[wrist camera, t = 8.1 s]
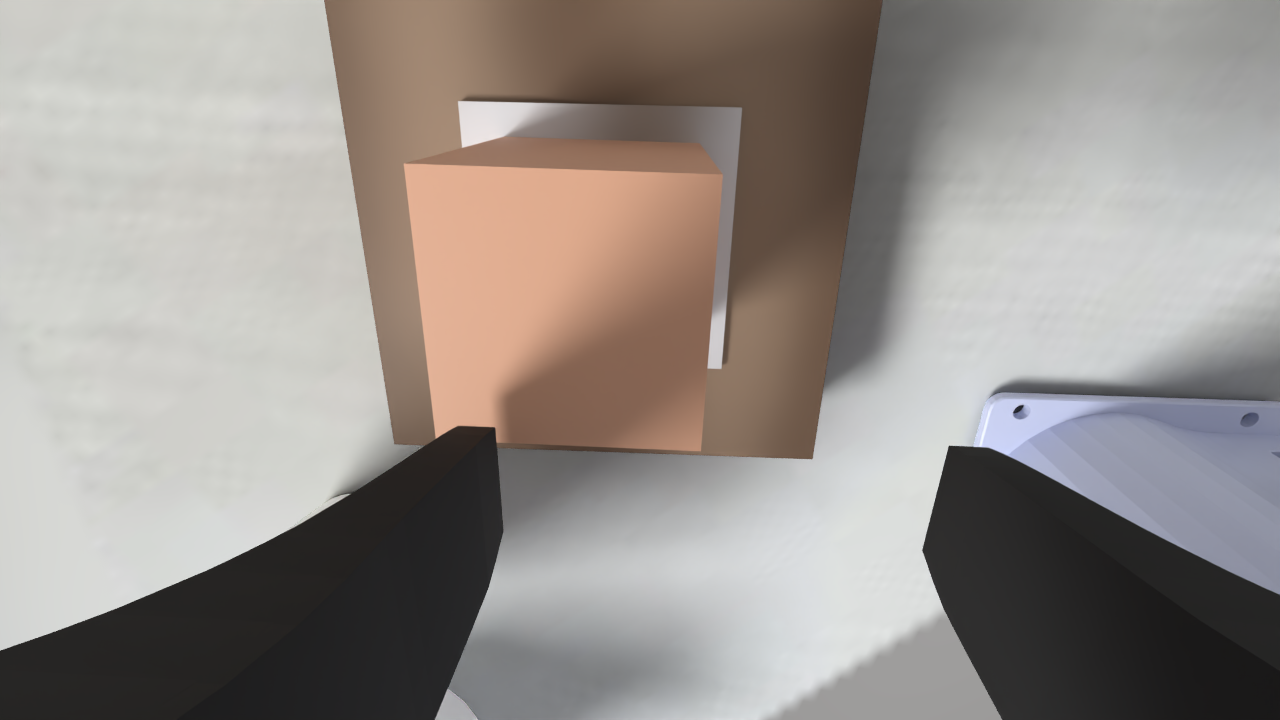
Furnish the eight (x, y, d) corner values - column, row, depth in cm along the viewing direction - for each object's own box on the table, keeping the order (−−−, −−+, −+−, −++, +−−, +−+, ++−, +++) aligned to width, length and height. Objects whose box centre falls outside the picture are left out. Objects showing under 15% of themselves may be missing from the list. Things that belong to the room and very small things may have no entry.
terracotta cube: (699, 142, 14) (723, 174, 9) (688, 327, 16) (701, 451, 10) (504, 136, 14) (403, 163, 9) (514, 320, 16) (436, 440, 11)
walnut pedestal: (848, -13, 16) (890, -38, 13) (792, 409, 20) (813, 463, 17) (376, -21, 16) (312, -47, 13) (430, 397, 21) (391, 447, 18)
